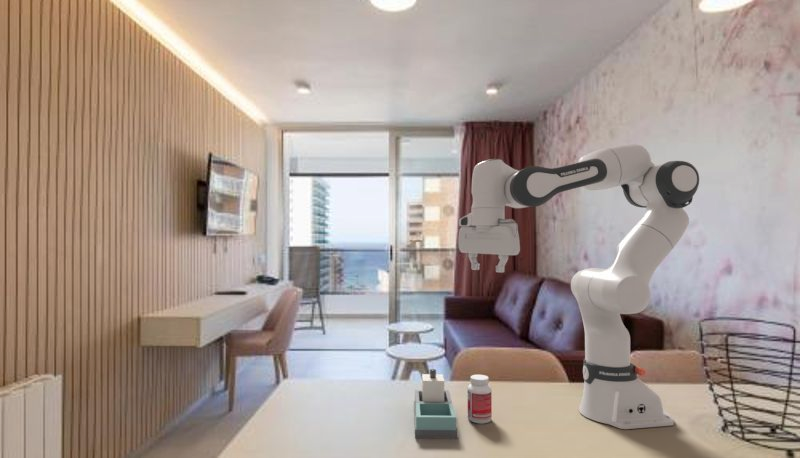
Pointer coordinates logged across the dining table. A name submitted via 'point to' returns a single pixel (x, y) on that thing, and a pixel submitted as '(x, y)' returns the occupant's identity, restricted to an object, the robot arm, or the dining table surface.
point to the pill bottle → (479, 399)
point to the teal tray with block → (434, 409)
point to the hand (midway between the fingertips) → (487, 271)
